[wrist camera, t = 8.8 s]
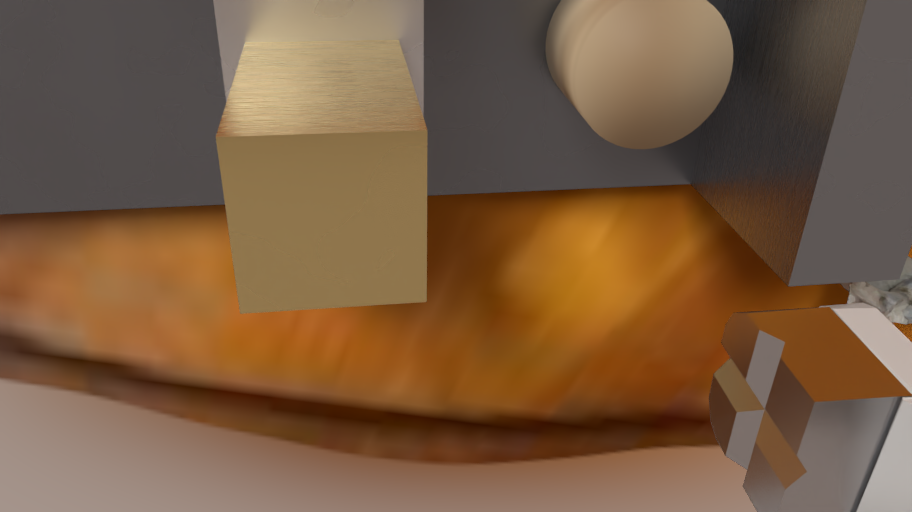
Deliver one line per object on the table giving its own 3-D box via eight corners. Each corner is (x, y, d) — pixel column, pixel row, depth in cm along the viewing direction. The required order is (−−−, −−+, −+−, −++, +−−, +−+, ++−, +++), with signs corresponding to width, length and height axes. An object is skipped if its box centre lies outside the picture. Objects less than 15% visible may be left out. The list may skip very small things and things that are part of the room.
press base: (827, -141, 22) (1040, -115, 15) (758, 161, 26) (899, 279, 20) (-216, -158, 18) (-510, -134, 12) (-89, 195, 23) (-251, 353, 16)
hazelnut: (696, -36, 21) (748, -13, 19) (672, 107, 23) (716, 146, 21) (551, -35, 21) (584, -11, 18) (540, 111, 23) (568, 152, 20)
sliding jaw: (400, -121, 19) (465, -52, 10) (404, 184, 23) (453, 415, 14) (228, -123, 18) (147, -52, 10) (263, 190, 22) (227, 433, 14)
